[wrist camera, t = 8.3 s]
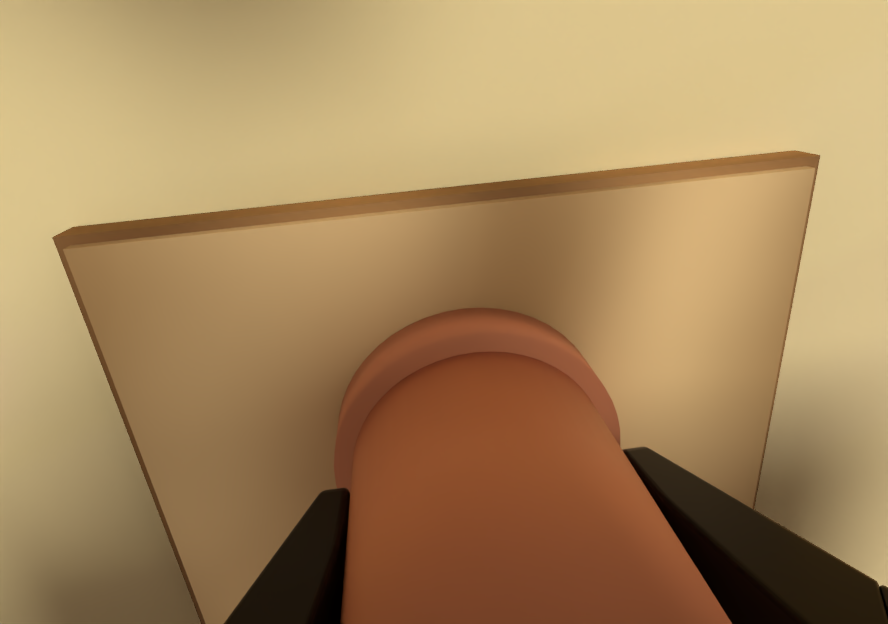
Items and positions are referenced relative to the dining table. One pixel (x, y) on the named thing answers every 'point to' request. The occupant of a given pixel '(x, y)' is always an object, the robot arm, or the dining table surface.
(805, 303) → the dining table surface
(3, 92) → the dining table surface
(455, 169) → the dining table surface
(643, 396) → the board
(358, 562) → the pawn
